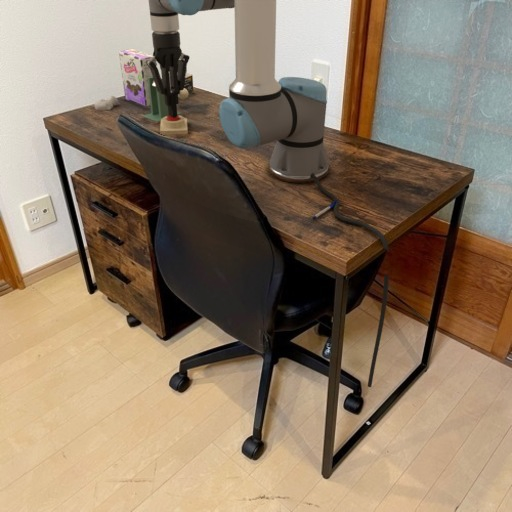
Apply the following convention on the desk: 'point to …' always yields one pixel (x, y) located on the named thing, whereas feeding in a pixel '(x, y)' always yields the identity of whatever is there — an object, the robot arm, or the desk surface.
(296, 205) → the desk surface
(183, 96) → the lever
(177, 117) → the button
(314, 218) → the ballpoint pen
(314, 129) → the robot arm
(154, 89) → the bracket
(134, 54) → the candy box
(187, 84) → the medicine bottle
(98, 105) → the pale two-lobed sculpture
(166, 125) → the button box
